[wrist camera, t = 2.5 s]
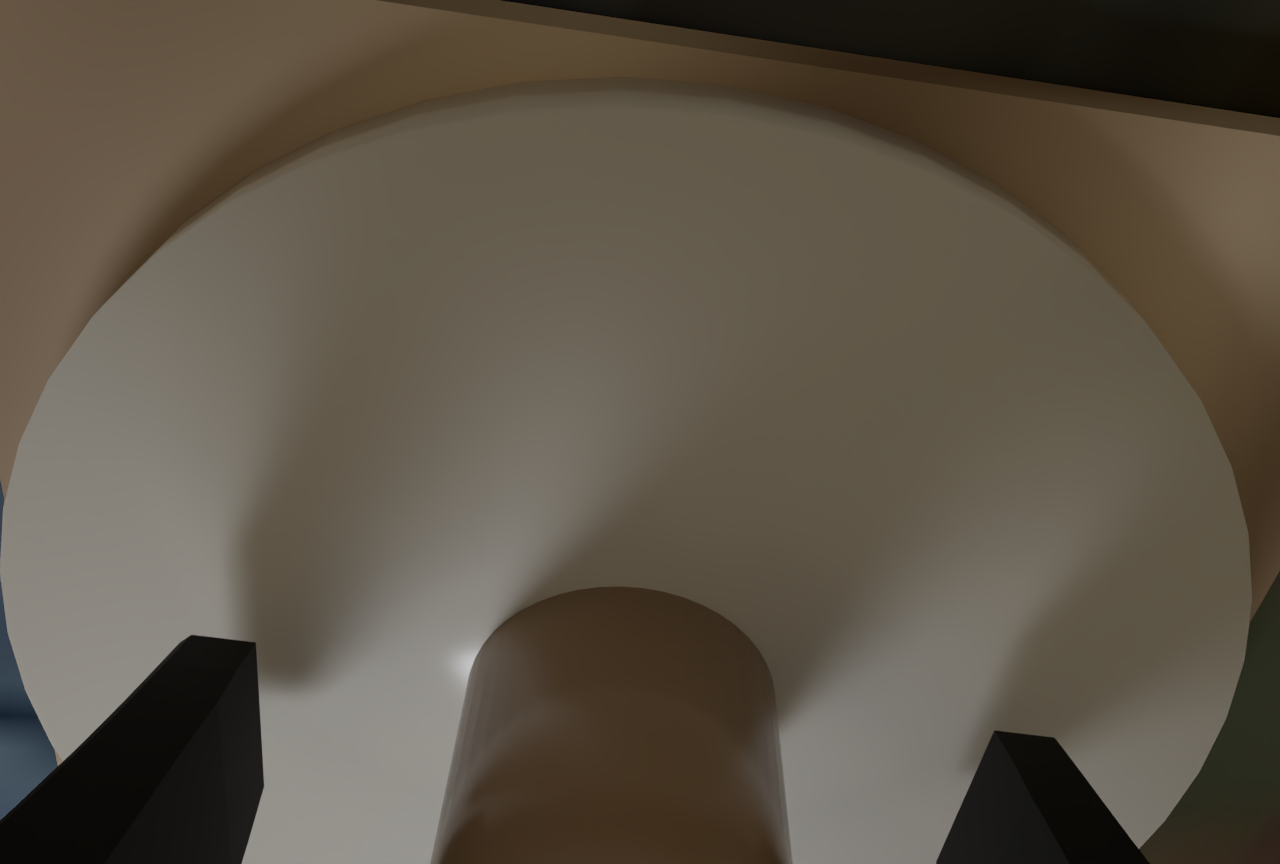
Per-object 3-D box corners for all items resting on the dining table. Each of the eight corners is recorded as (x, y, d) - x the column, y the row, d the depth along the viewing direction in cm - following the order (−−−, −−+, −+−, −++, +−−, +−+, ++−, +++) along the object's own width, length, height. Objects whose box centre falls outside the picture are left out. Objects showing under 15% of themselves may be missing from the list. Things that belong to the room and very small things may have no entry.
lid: (1462, 194, 10) (2158, 632, 5) (1001, 1020, 16) (1124, 1519, 12) (-73, -33, 9) (-826, 244, 4) (110, 928, 16) (-115, 1422, 11)
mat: (1466, 147, 10) (1509, 169, 9) (1003, 995, 17) (1012, 1034, 16) (-69, -85, 9) (-111, -74, 9) (110, 900, 16) (92, 938, 16)
